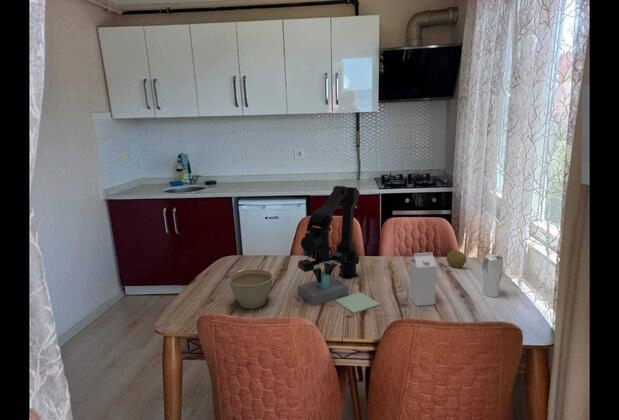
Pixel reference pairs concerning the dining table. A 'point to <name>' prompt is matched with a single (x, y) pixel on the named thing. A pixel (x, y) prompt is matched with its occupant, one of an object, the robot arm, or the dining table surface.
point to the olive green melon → (456, 258)
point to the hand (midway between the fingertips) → (322, 282)
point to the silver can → (492, 274)
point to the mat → (357, 302)
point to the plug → (323, 281)
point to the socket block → (323, 292)
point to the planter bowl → (251, 287)
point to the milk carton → (423, 279)
